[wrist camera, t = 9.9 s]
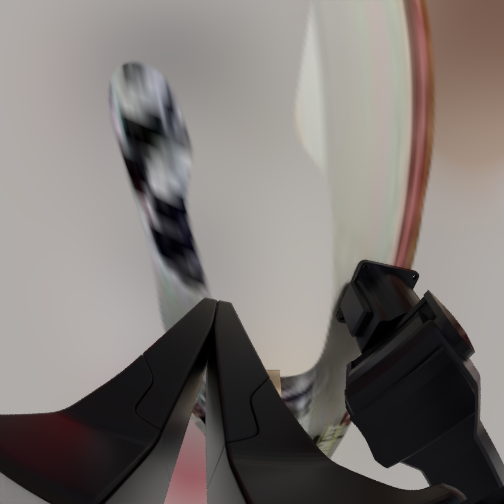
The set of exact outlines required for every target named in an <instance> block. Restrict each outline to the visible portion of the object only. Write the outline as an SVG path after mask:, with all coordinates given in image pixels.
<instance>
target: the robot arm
mask: <svg viewBox="0 0 504 504" xmlns="http://www.w3.org/2000/svg"><path fill="white" fill-rule="evenodd" d="M364 265H367V266H366V267H365V268H363V266H364ZM414 275H415V276H414ZM413 276H414V277H413ZM418 278H419V274H418V273H417V272H416V271H414V270H410V269H405V268H401V267H396V266H392V265H387V264H383V263H378V262H374V261H369V260H363V261H361V262H360V264H359V266H358V268H357V271H356V273H355V275H354V278H353V280H352V281H351V282H350V283H349V286H348V288H347V290H346V292H345V295H344V297H343V299H342V301H341V303H340V309H339V311H338V313H337V316H336V318H337V321H338V322H341V323H347V326H348V328H349V331H350V334H351V335H352V337H356V340H357V343H358V345H359V348H360V351H361V353H362V355H360V356H359V357H358V358H357V359H355V360H354V361H351V362H350V363H349V364H347V370H346V389H345V393H344V395H345V404H346V409H347V410H348V413H349V415H350V419H351V421H352V422H353V423H354V424H355V425H356V426H357V427H358V429H359V430H360V432H361V433H362V435H363V436H364V437H365V439H366V441H367V443H368V445H369V448H370V450H371V452H372V454H373V457H374V459H375V460H376V461H377V462H378V463H379V464H381V465H382V466H384V467H385V468H389V467H391V466H393V465H395V464H397V463H399V462H400V463H403V464H405V465H408V466H410V467H412V468H415V469H417V470H420V471H421V472H422V474H423V475H424V477H425V479H426V480H427V482H428V484H429V486H430V487H427V488H424V489H420V490H404V489H399V488H395V487H392V486H389V485H386V484H384V483H381V482H378V481H376V480H373V479H370V478H368V477H366V476H363V475H361V474H358V473H356V472H354V471H351V470H349V469H347V468H345V467H342V466H340V465H338V464H336V463H335V462H333V461H332V460H331V459H329V458H328V457H327V456H326V455H325V454H324V453H323V452H322V451H321V450H320V449H319V448H318V447H317V445H316V444H315V443H314V442H313V440H312V439H311V438H310V436H309V435H308V434H307V433H306V431H305V430H304V429H303V427H302V426H301V425H300V424H299V422H298V421H297V420H296V418H295V417H294V416H293V414H292V413H291V411H290V410H289V409H288V407H287V406H286V404H285V403H284V401H283V400H282V398H281V396H280V395H279V393H278V391H277V390H276V388H275V386H274V384H273V382H272V380H271V379H269V378H270V377H269V375H268V373H267V371H266V369H265V368H264V366H263V364H262V362H261V360H260V358H259V356H258V354H257V352H256V350H255V348H254V347H253V345H252V343H251V341H250V339H249V337H248V335H247V333H246V331H245V329H244V327H243V325H242V323H241V321H240V319H239V317H238V315H237V313H236V311H235V309H234V307H233V305H232V303H230V302H225V301H218V302H217V300H215V299H210V298H204V299H203V300H202V301H200V302H199V303H198V304H197V305H196V306H195V307H194V308H193V309H192V310H190V311H189V312H188V313H187V314H186V315H185V316H184V317H183V318H182V319H181V320H179V321H178V322H177V323H176V324H175V325H174V326H173V327H172V328H171V329H169V330H168V331H167V332H166V333H165V334H164V335H163V336H162V337H161V338H159V339H158V340H157V341H156V342H155V343H154V344H153V345H152V346H151V347H149V348H148V349H147V350H146V351H145V352H144V353H143V355H140V356H139V357H138V358H137V359H136V360H135V361H134V362H133V363H131V364H130V365H129V366H128V367H127V368H125V369H124V370H123V371H122V372H121V373H119V374H118V375H116V376H115V377H114V378H112V379H111V380H110V381H108V382H107V383H105V384H104V385H102V386H101V387H99V388H98V389H96V390H95V391H93V392H92V393H90V394H89V395H87V396H86V397H84V398H82V399H81V400H79V401H78V402H76V403H75V404H73V405H71V406H70V407H68V408H65V409H63V410H60V411H56V412H50V413H37V414H15V415H13V414H10V415H0V504H163V503H164V501H165V497H166V494H167V491H168V487H169V483H170V481H171V477H172V474H173V471H174V467H175V464H176V461H177V458H178V455H179V452H180V448H181V445H182V442H183V439H184V435H185V432H186V429H187V426H188V423H189V420H190V416H191V413H192V410H193V407H194V404H195V400H196V397H197V394H198V391H199V388H200V385H201V382H202V378H203V375H204V372H205V369H206V364H207V371H206V478H207V479H206V481H207V504H504V464H503V462H502V460H501V458H500V456H499V454H498V452H497V450H496V448H495V446H494V444H493V443H492V441H491V439H490V437H489V435H488V433H487V432H486V430H485V428H484V426H483V425H482V422H481V421H480V399H481V398H480V396H481V395H480V391H481V387H480V375H479V372H478V371H477V369H476V368H475V366H474V365H473V363H472V362H471V360H470V359H469V357H471V356H472V355H473V354H474V353H475V350H474V348H473V346H472V344H471V342H470V340H469V338H468V336H467V334H466V332H465V331H464V329H463V328H462V327H461V325H460V324H459V323H458V321H457V320H456V319H455V318H454V316H453V315H452V314H451V313H450V312H449V311H448V310H447V309H446V308H445V306H444V305H443V304H442V303H441V302H440V301H439V300H438V299H437V298H436V297H435V296H434V295H433V294H432V293H431V292H430V291H429V290H428V291H427V292H426V293H425V294H424V297H423V298H422V299H421V300H420V299H419V297H418V296H417V295H416V293H415V292H414V291H413V288H414V286H415V284H416V282H417V280H418ZM216 308H217V309H216ZM342 316H343V317H342ZM340 317H342V318H340ZM210 342H211V343H210ZM209 348H210V349H209ZM208 354H209V355H208ZM207 360H208V361H207Z"/></svg>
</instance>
